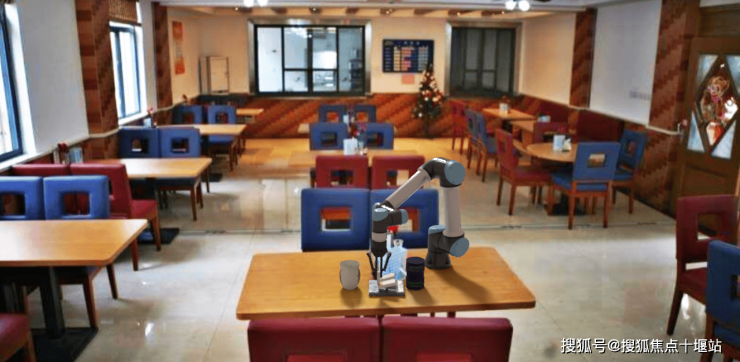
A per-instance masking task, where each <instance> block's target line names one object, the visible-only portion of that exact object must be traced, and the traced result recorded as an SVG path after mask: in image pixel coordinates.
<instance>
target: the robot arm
mask: <svg viewBox="0 0 740 362" xmlns="http://www.w3.org/2000/svg"><path fill="white" fill-rule="evenodd" d="M466 175H467V173H466V168H465V166H464V165H463V164H462V162H459V161H457V160H454V159H449V158H446V157H442V156H436V157H434V158H431V159H429V160H427V161H426V162H424V163H423V164H422V165H420V166H419V167H418V168H417V171H416V172H415V173H414V174H413V175H412V176H410V178H408V179H407V180H406V181H405V182H403V183H402V185H400V186H399V187H398V188H397V189H395V190H394V191H393V192H392V193H391V194H390V195H389V196H388V197H386V198H385V199H384V200H383V201H382V202H375V203H374V204H372V207H371V212H372V216H371V217H372V218H371V220H372V221H371V248H370V250H369V251H366V256H367V257H368V262H369V265H370V270H371V271H373V272H374V278H375V279H376V280H377V284H380V278H382V276H383V272H386V271H387V268H388V264H389V261H390V259H391V257H392V255H393V254H392V252H391V251H389V250H388V248H387V247H388V241H387V239H388V228H390V227H391V228H392V227H395V226H401V225H405V224H407V223H408V221H409V214H408V212H407V210H406V209H401V208H400V209H398V208H399V207H400V206H402V204H404V203H405V202H406V201H407V200H408V199H410V197H412V195H414V194H415V193H416V192H417V191H418V190H420V189H421V188H422V187H423V186H424V185H425V184H427V183H430V182H431V181H433V180H434V179H435V180H436V179H437V180H438V181H439V187H440V188H442V195H443V196H442V197H443V209H444V210H443V211H444V213H443V214H444V224H438V225H437V224H436V225H435V224H434V225H432V226H430V227H428V233H427V251H426V252H427V253H426V255H425V258H424V259H425V267H426V268H428V269H432V270H447V269H449V268H450V267H451V266H452V260H451V257H455V258H461V257H463V256H465V255H466V254H467V252H468V251H469V248H470V241H469V239H468V238H467V237H465V230H464V229H463V228H462V220H461V218H462V217H461V199H460V198H461V197H460V187H461V186H462V184H463V182H464V180H465V178H466ZM372 255H373V256H374V263H373V259H372ZM385 255H386V258H385V262H384V259H383V258H384V257H385ZM450 256H451V257H450ZM378 258H379V259H380V260H378ZM378 261H379V262H378ZM378 263H379V270H378ZM383 264H384V266H383Z"/></svg>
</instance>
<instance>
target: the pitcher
mask: <svg viewBox="0 0 740 362" xmlns="http://www.w3.org/2000/svg"><path fill="white" fill-rule="evenodd" d="M360 265H361V263H360V262H359V261H358V260H356V259H355V260H354V259H346V260H343V261H342V260H341V262H340V263H339V267H340V269H339V273H338V274H339V276H338V277H339V281H340V284H341V287H343V289H345V290H346V291H353V290H355V289H356V288H357V287H358V285H359V284H360V282H361V269H360Z"/></svg>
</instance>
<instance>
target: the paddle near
mask: <svg viewBox="0 0 740 362" xmlns="http://www.w3.org/2000/svg"><path fill="white" fill-rule="evenodd" d="M395 280H396V278H395V279H391V280H387V281H383V282H380V284H378V289H381V288H386V287H390V286H394V285H396V282H395Z"/></svg>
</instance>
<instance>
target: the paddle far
mask: <svg viewBox="0 0 740 362" xmlns="http://www.w3.org/2000/svg"><path fill="white" fill-rule="evenodd" d="M395 274H396V273H395V272H390V273H387V274H384V275H383V274H382V278H380V282H383V281H387V280H391V279H395V280H396V275H395Z"/></svg>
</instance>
